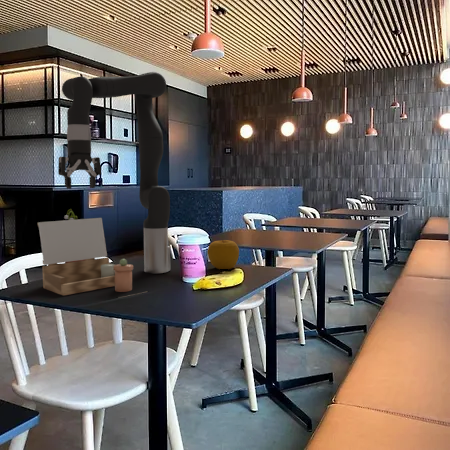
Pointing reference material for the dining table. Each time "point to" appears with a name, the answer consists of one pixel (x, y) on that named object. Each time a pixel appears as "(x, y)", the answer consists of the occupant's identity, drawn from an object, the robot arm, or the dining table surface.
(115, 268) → the terracotta pot
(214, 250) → the apple
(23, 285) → the dining table surface
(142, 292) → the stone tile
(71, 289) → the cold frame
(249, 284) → the dining table surface
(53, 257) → the lid
